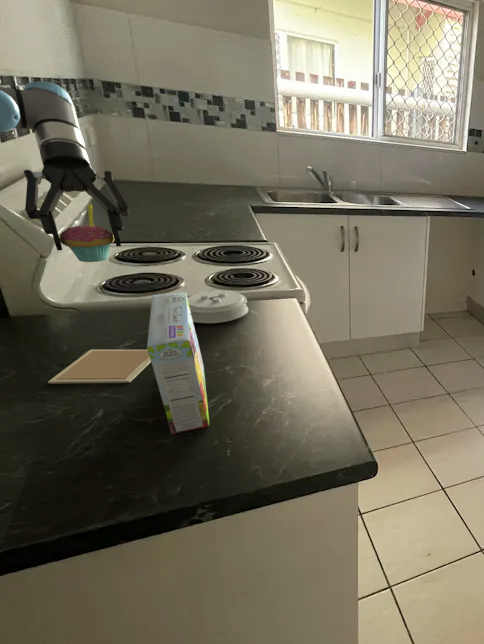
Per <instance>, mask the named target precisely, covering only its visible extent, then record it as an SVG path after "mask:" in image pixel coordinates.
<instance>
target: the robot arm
mask: <svg viewBox="0 0 484 644" xmlns="http://www.w3.org/2000/svg"><path fill="white" fill-rule="evenodd" d="M14 128H15V129H17V128H18V129H22V130H33V131H34V137H35V140H36V144H37V148H38V150H39V155H40V158H41V163H42V166H43V168H42V169H41V171H32V170H30V169H25V170H24V171H23V174H24V177H25V180H26V191H25V192H26V194H25V206H24V211H25V213H26V216H27V217H28V219H30V220H35V219H36V220H39V221H40V222H41V226H42V230H43V232H44V234H46V235H52V237H53V241H54V245H55V247H56V250H57V251H63V246H62V243H61V242H60V234H59V231H58V227H57V223H56V219H55V217H54V215H53V213H54V211H55V209H56V207H57V205H58V203H59V201H60V198H61V197H63V194H64V192H65V193H71V192H78V193H84V192H85V193H86V194H87V195H88V196H89V197H91V198H92V199H93V200H94V201H95V202H96V203H98V205H100V207H101V208H103V210H104V211H105V212H106V213H107V217H108V221H109V225H110V229H111V232H112V234H113V236H114V242H115V245H116V247H122V244H121V238H120V236H119V235H120V234H119V231H120V232H123V230H124V226H123V221H122V219H121V217H128V216H129V215H130V211H129V206H128V204H127V202H126V201H125V200H124V198H123V196H122V194H121V192H120V191H119V189H118V188H117V185H116V184H115V183H114V180H113V173H112V171H110V170H105V171H104V172H97V171H95V170H94V168H92V165H91V162H90V159H89V158H90V157H89V154H88V152H87V147H86V144H85V140H84V136H83V134H82V130H81V127H80V123H79V119H78V116H77V111H76V107H75V106H74V103H73V101H72V98H71V95H70V94H69V93H68V91H66V89H64V88H63V87H61V86H60V85H58V84H56V83H53V82H51V81H46V80H45V81H44V80H38V81H30V82H28V83H27V84H25V85H24V87H23V89H19V88H10V87H5V86H0V133H4V132H7V131H10V130H13V129H14ZM42 180H45V181H47V182H48V183H50V186H49V189H48V191H47V194H46V195H45V197H44V200H43V201H42V204H41V206H40V207H39V209H38V205H39V204H38V203H39V202H38V201H39V186H40V184H42ZM97 180H98V181H100V183H101V184H103V185H105V187H106V190H107V191H108V193H109V194H110V196H111V198H112V200H113V201H114V203H115V204H116V206H115V205H114V204H113V203H112V201H110V199H109V198H108V197H106V196H105V195H104V193H102V191H100V189H98V188H97V187H96V186H95V184H94V183H95V181H97ZM38 185H39V186H38Z"/></svg>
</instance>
